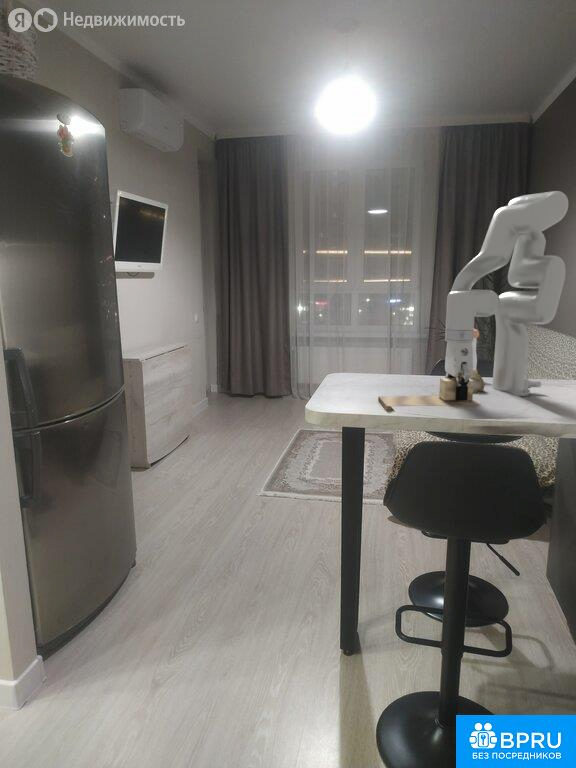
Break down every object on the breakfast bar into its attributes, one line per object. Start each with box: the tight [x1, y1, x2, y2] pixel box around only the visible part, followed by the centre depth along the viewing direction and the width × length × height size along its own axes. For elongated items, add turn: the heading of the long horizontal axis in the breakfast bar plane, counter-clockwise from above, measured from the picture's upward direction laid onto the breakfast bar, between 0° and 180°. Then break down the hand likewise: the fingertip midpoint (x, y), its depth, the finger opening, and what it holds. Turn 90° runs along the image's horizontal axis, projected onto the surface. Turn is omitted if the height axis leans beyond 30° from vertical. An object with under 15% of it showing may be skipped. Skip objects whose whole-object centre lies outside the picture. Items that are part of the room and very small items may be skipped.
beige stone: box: [469, 372, 485, 394], centre depth 159 cm, size 8×10×10 cm
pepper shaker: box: [472, 328, 480, 374], centre depth 183 cm, size 7×7×19 cm
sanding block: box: [438, 377, 474, 402], centre depth 146 cm, size 8×4×6 cm, turn 91°
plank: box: [377, 395, 481, 412], centre depth 147 cm, size 26×12×2 cm, turn 91°
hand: (455, 396), depth 147 cm, fingers open, 8 cm apart
